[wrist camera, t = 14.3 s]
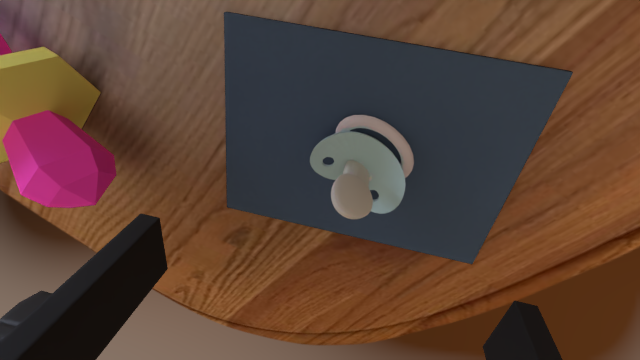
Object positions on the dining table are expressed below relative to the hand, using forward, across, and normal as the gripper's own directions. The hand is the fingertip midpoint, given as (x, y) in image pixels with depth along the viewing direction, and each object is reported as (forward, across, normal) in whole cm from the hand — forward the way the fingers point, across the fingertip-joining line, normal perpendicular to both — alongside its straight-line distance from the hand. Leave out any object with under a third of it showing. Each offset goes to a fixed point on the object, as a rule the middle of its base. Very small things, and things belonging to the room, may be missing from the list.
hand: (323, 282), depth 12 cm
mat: (+14, +1, -1) cm, 14 cm away
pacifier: (+14, +1, -1) cm, 14 cm away
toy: (+15, -24, -1) cm, 28 cm away
